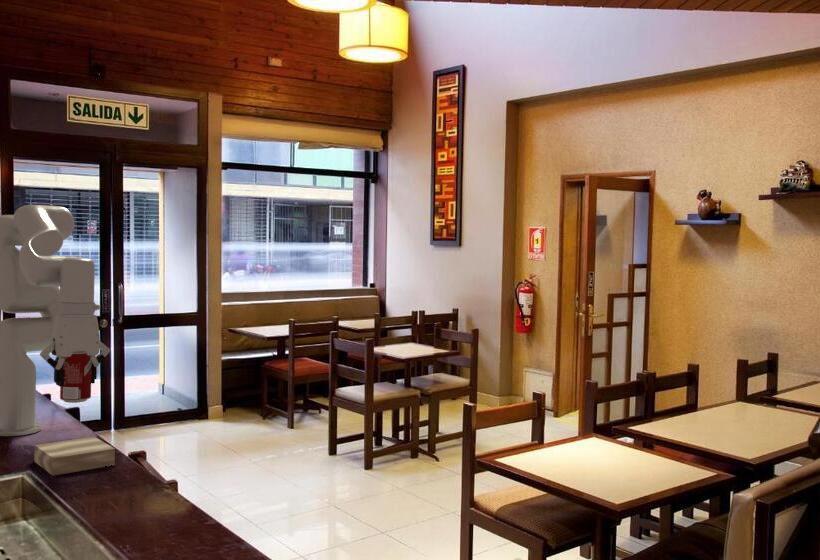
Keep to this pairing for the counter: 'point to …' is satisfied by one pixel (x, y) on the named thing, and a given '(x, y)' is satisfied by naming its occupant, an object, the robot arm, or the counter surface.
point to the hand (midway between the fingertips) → (75, 383)
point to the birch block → (74, 455)
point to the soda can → (76, 378)
